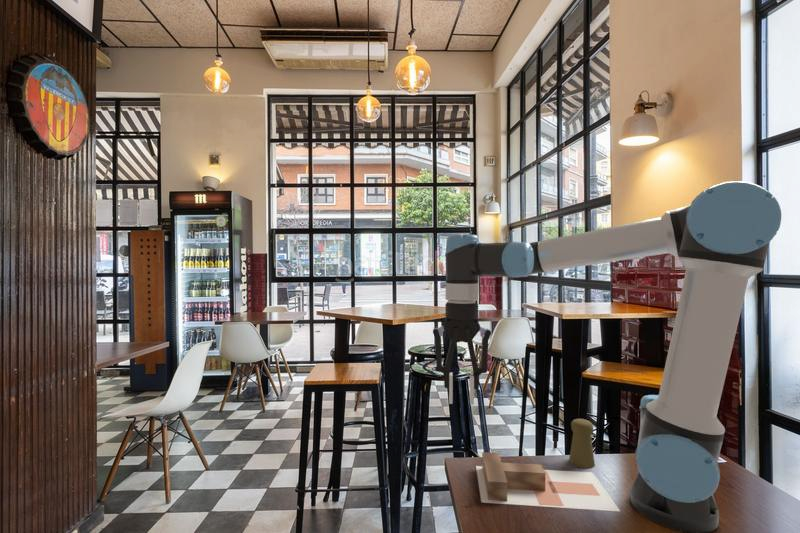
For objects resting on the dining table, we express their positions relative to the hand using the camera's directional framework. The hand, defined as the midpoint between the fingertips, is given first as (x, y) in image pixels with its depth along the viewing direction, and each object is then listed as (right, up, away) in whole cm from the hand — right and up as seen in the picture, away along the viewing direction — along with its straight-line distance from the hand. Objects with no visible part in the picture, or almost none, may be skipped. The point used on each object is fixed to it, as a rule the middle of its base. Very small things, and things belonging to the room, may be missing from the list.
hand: (461, 402), depth 96 cm
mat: (+18, -19, -2) cm, 26 cm away
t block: (+12, -18, -1) cm, 22 cm away
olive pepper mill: (+32, -19, +10) cm, 39 cm away
